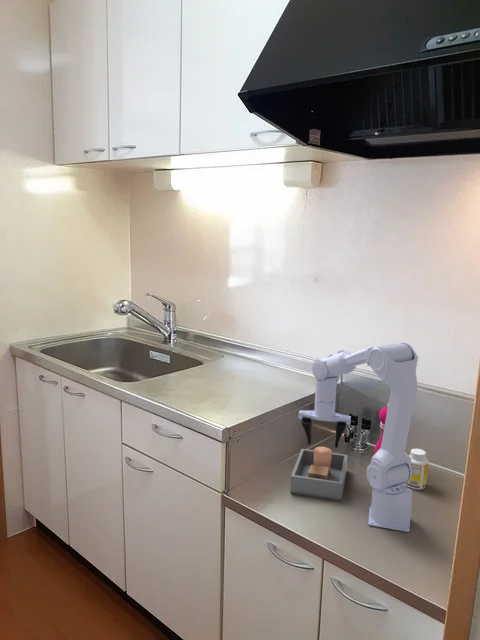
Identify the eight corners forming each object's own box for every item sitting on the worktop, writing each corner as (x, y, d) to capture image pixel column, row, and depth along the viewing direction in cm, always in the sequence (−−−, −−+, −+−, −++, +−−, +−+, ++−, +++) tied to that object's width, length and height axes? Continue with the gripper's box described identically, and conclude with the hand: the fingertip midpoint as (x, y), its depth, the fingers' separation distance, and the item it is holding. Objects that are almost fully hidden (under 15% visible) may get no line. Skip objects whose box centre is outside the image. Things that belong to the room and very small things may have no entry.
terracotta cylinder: (331, 470, 147) (332, 448, 146) (328, 478, 143) (330, 455, 141) (314, 467, 149) (315, 445, 147) (311, 475, 144) (312, 452, 143)
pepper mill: (395, 473, 148) (400, 408, 144) (370, 467, 151) (375, 404, 147) (400, 463, 154) (405, 401, 150) (377, 457, 157) (381, 397, 154)
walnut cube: (328, 483, 140) (328, 467, 139) (326, 492, 135) (327, 475, 134) (310, 481, 141) (310, 464, 140) (307, 489, 136) (308, 472, 135)
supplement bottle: (420, 480, 144) (423, 446, 142) (429, 490, 138) (432, 455, 136) (401, 480, 143) (404, 447, 141) (410, 491, 138) (413, 456, 136)
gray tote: (346, 470, 149) (347, 454, 148) (341, 501, 132) (342, 483, 131) (300, 464, 152) (301, 448, 151) (290, 493, 136) (290, 476, 135)
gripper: (352, 397, 143) (349, 442, 146) (302, 392, 147) (300, 435, 150) (350, 406, 137) (347, 452, 139) (297, 400, 141) (296, 445, 143)
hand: (323, 444), depth 144 cm, fingers open, 7 cm apart
